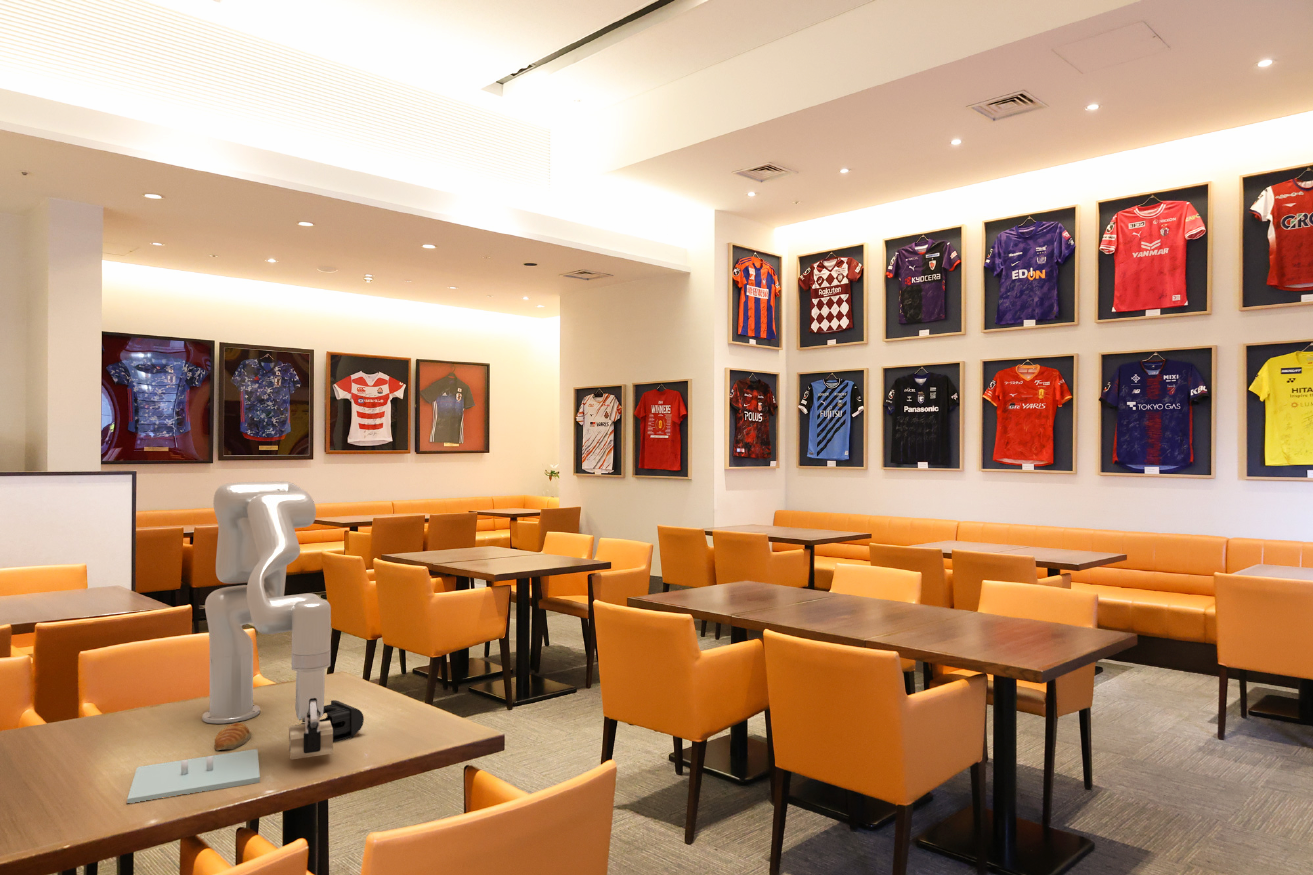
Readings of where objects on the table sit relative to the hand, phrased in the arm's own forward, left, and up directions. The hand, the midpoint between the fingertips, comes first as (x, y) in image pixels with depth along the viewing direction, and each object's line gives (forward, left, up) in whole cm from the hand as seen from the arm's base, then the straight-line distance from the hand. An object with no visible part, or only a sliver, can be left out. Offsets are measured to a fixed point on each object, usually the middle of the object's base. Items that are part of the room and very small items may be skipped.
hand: (310, 745), depth 176 cm
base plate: (-1, -21, -3) cm, 21 cm away
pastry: (-20, -15, -4) cm, 25 cm away
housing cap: (0, 0, -1) cm, 1 cm away
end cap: (-15, +7, -4) cm, 17 cm away
